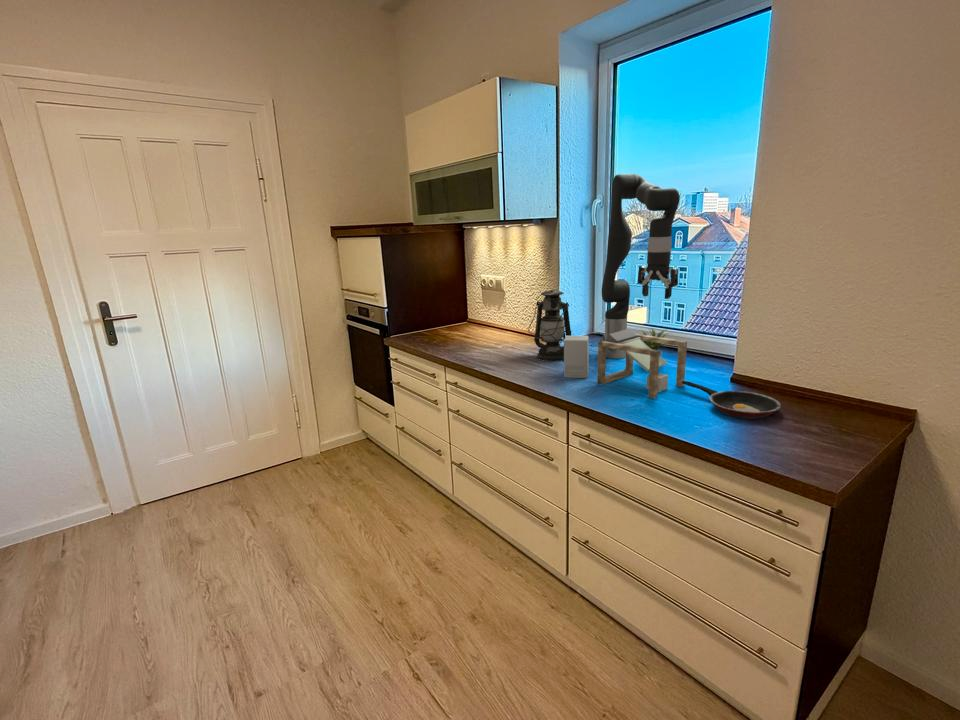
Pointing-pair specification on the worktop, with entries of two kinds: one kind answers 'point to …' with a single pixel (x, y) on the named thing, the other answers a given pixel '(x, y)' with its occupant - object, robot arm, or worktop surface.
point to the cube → (660, 382)
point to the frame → (653, 354)
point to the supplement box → (576, 357)
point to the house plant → (655, 342)
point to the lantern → (551, 326)
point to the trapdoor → (630, 339)
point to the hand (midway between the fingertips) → (656, 297)
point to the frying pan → (740, 402)
